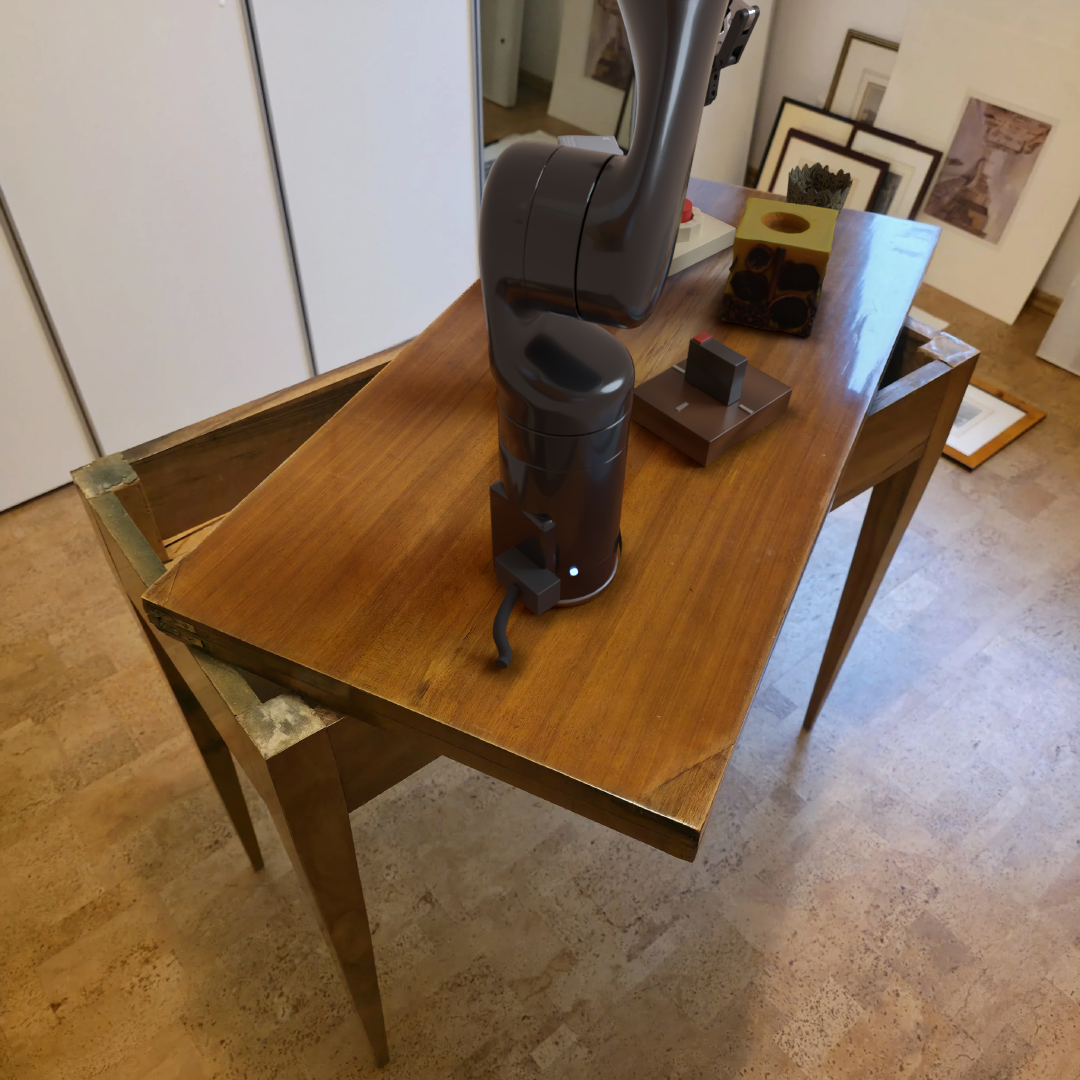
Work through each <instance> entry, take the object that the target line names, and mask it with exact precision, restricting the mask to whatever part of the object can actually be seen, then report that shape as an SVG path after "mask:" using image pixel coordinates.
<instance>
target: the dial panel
mask: <svg viewBox="0 0 1080 1080" xmlns="http://www.w3.org/2000/svg"><path fill="white" fill-rule="evenodd" d="M686 362H687V357H686V358H684V359H683V360H680V361H679V362H677V363H675V364H673V365H672V366H670V367H668V368H667V369H665V370H663V371H661V372H660V373H658V374H657V375H654V376H653V377H651V378H649V379H648V380H646V381H644V382H643V383H640V384H639V385H637V386H634V394H633V402H632V412H631V420H633V421H634V422H636V423H638V424H639V425H641V426H642V427H644V428H645V429H647V430H648V431H650V432H652V433H653V434H654V435H656V436H657V437H659V438H661V439H662V440H663V441H665V442H667V443H668V444H669V445H671V446H673V447H674V448H676V449H677V450H679V451H680V452H682V453H683V454H685V455H686V456H687V457H689V458H691V459H692V460H694V461H695V462H697V463H698V464H700V465H701V466H702V467H704V468H706V467H707V466H709V465H710V464H712V463H713V462H716V460H718V459H719V458H721V457H722V456H724V455H726V454H727V453H728V452H730V451H731V450H733V449H735V448H736V447H738V446H739V445H741V444H742V443H744V442H745V441H746V440H748V439H750V438H751V437H753V436H754V435H756V434H758V432H760V431H761V430H763V429H765V428H766V427H768V426H769V425H771V424H772V423H773V422H776V421H777V420H778V419H779V418H781V417H783V416H784V415H786V414H787V412H788V408H789V404H790V400H791V397H792V394H793V393H792V392H793V387H791V386H789V385H788V384H786V383H784V382H782V381H780V380H779V379H777V378H775V377H773V376H772V375H770V374H768V373H766V372H765V371H763V370H761V369H759V368H757V367H755V366H754V365H752V364H750V363H748V362H747V367H746V372H745V376H744V381H743V386H742V390H741V395H740V399H738V400H737V401H735V402H733V403H732V404H730V405H728V406H726V405H725V404H723V403H722V402H720V401H718V400H717V399H715V398H713V397H712V396H710V395H709V394H707V393H705V392H704V391H702V390H701V389H699V388H697V387H696V386H694V385H692V384H691V383H689V382H688V381H686V380H684V376H685V369H686Z"/></svg>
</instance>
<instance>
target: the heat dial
mask: <svg viewBox="0 0 1080 1080" xmlns="http://www.w3.org/2000/svg"><path fill="white" fill-rule="evenodd" d="M686 358H687V362H686V369H685V376H684V380H686V381H688V382H689V383H691V384H692V385H694V386H696V387H697V388H699V389H701V390H702V391H704V392H705V393H707V394H709V395H710V396H712V397H713V398H715V399H717V400H718V401H720V402H722V403H723V404H725V405H726V406H728V405H730V404H732V403H733V402H735V401H737V400H738V399H740V395H741V390H742V386H743V381H744V376H745V372H746V367H747V363H748V361H749V357H746V355H745V356H744V355H742V354H741V353H740V352H738V351H736V350H734V349H732V348H731V347H729V346H727V345H725V344H723V343H722V342H720V341H718V340H717V339H715V338H713V336H712V335H710V334H709V333H707V332H705V331H702V332H700V333H698V334H697V335H695V336H693V337H691V338H690V339H689V342H688V350H687V356H686Z"/></svg>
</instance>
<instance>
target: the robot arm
mask: <svg viewBox="0 0 1080 1080" xmlns="http://www.w3.org/2000/svg"><path fill="white" fill-rule="evenodd" d="M616 2H617V5H618V8H619V12H620V14H621V18H622V21H623V24H624V29H625V31H626V35H627V41H628V46H629V49H630V54H631V59H632V65H633V70H634V75H635V76H634V77H635V86H636V108H635V109H636V112H635V113H636V114H635V120H634V131H633V134H632V140H631V144H630V148H629V150H628V153H627V154H626V155H624V154H623V155H617V154H612V153H606V152H600V151H594V150H588V149H582V148H576V147H571V146H564V145H560V144H557V143H552V142H546V141H541V140H520V141H516V142H513V143H510V145H508V146H507V147H505V148H504V149H503V150H502V151H501V152H500V153H499V154H498V156H497V157H496V159H495V160H494V162H493V164H492V166H491V168H490V169H489V172H488V175H487V178H486V181H485V183H484V186H483V191H482V194H481V195H482V196H481V202H480V208H479V215H478V236H477V237H478V243H477V244H478V252H477V253H478V262H479V276H480V286H481V293H482V294H481V296H482V301H483V311H484V320H485V329H486V330H485V331H486V339H487V353H488V354H487V355H488V362H489V370H490V373H491V376H492V378H493V381H494V383H495V388H496V408H497V412H496V413H497V437H498V438H497V440H498V441H497V442H498V443H497V444H498V466H499V467H498V469H499V470H498V471H499V479H497V480H496V481H494V482H493V483H491V484H490V485H489V489H488V492H489V493H488V494H489V510H490V511H489V512H490V530H491V533H490V534H491V549H492V570H493V572H494V573H495V580H496V581H497V582H498V583H499V584H500V585H501V586H503V587H504V588H505V589H506V593H505V595H503V599H502V600H501V602H500V604H499V606H498V608H497V611H496V613H495V616H494V619H493V624H492V638H493V642H494V645H495V646H496V649H497V652H498V656H497V658H496V660H495V665H496V666H497V667H498V668H500V669H507V668H509V665H510V664H511V662H512V660H513V659H512V658H513V651H512V647H511V643H510V641H509V639H508V636H507V627H508V621H509V620H510V617H511V614H512V612H513V609H514V608H515V606H516V604H517V602H518V601H519V602H520V603H521V604H522V605H524V606H525V607H526V608H527V609H528V610H529V611H531V613H533V614H534V615H535V616H536V617H539V616H540V615H542V614H544V613H547V612H548V611H549V610H551V609H553V608H567V607H569V608H570V607H576V606H580V605H583V604H586V603H589V602H591V601H593V600H595V599H597V598H598V597H600V596H601V595H603V593H606V591H607V590H608V589H609V587H610V586H612V583H613V582H614V580H615V578H616V576H617V570H618V562H619V556H620V557H622V551H623V539H622V533H621V519H622V510H623V499H624V489H625V480H626V479H625V478H626V469H627V459H628V449H629V441H630V440H629V438H630V430H631V421H632V418H631V412H632V402H633V394H634V388H635V384H636V383H635V382H636V368H635V367H636V366H635V363H634V359H633V357H632V355H631V353H630V351H629V350H628V348H627V347H626V345H625V344H624V343H623V342H622V341H621V339H619V338H618V337H617V336H615V334H613V333H611V331H609V330H607V329H605V328H604V327H602V326H605V327H609V328H610V327H611V328H615V329H620V330H634V329H637V328H640V327H641V326H642V325H644V324H645V323H646V322H647V321H648V319H649V318H650V317H651V315H652V314H653V313H654V311H655V309H656V308H657V306H658V303H659V302H660V299H661V297H662V294H663V292H664V290H665V286H666V283H667V280H668V278H669V277H668V274H669V270H670V267H671V263H672V259H673V255H674V251H675V246H676V242H677V237H678V232H679V228H680V223H681V219H682V214H683V209H684V204H685V198H686V199H687V193H688V189H689V183H690V177H691V172H692V168H693V163H694V159H695V153H696V147H697V143H698V138H699V132H700V128H701V124H702V123H701V122H702V117H703V113H704V108H705V107H708V106H710V105H712V103H713V102H714V101H715V100H716V98H717V97H718V90H719V89H718V88H719V83H720V76H721V71H722V70H723V69H725V68H727V67H731V66H733V65H737V64H738V63H739V62H740V60H741V59H742V55H743V53H744V51H745V49H746V46H747V44H748V42H749V40H750V37H751V35H752V33H753V31H754V28H755V26H756V25H757V22H758V19H759V18H760V15H761V9H760V7H759V6H758V5H756V4H754V5H751V6H750V5H748V4H747V2H745V1H744V0H616ZM729 14H730V17H729V18H728V16H729ZM728 25H729V27H728ZM618 550H619V554H618ZM618 555H619V556H618Z"/></svg>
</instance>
